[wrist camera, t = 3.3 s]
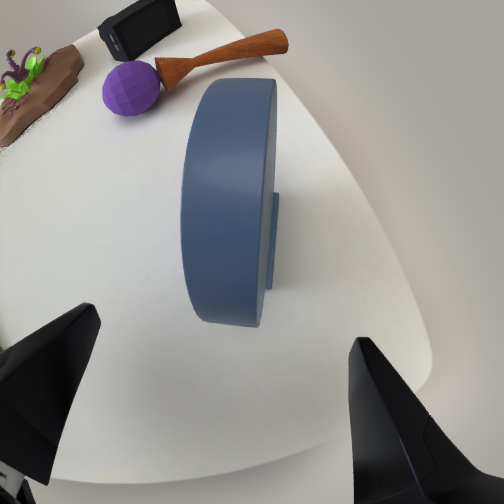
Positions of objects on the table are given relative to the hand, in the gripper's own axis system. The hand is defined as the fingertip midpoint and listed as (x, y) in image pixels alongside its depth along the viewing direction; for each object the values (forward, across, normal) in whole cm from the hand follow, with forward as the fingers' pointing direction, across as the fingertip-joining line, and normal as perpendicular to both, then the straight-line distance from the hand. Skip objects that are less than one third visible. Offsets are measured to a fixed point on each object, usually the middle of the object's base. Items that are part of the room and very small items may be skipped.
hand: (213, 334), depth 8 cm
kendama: (+24, +7, -9) cm, 27 cm away
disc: (+12, 0, +3) cm, 12 cm away
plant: (+29, +39, -14) cm, 50 cm away
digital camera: (+33, +19, -18) cm, 41 cm away
